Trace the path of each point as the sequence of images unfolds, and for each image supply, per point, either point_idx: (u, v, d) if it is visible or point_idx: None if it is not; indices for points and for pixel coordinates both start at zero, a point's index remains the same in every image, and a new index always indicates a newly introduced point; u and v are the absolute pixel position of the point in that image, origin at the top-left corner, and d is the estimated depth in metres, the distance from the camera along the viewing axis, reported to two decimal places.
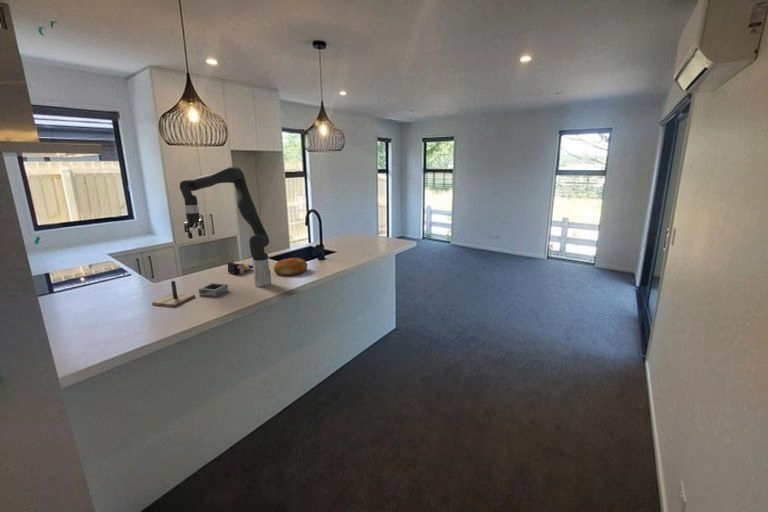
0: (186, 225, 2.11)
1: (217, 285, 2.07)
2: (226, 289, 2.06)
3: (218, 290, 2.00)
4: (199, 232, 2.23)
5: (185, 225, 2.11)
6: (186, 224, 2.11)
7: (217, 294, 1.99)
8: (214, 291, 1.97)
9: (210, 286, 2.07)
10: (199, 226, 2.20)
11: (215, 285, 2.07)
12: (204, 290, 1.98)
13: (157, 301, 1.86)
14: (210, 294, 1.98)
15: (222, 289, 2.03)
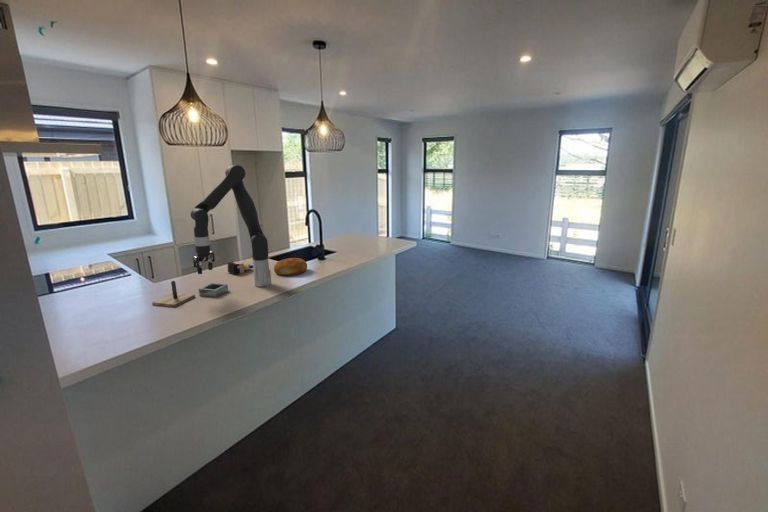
0: (195, 260, 1.87)
1: (217, 285, 2.07)
2: (226, 289, 2.06)
3: (218, 290, 2.00)
4: (209, 266, 1.99)
5: (194, 260, 1.87)
6: (195, 259, 1.87)
7: (217, 294, 1.99)
8: (214, 291, 1.97)
9: (210, 286, 2.07)
10: (210, 259, 1.96)
11: (215, 285, 2.07)
12: (204, 290, 1.98)
13: (157, 301, 1.86)
14: (210, 294, 1.98)
15: (222, 289, 2.03)
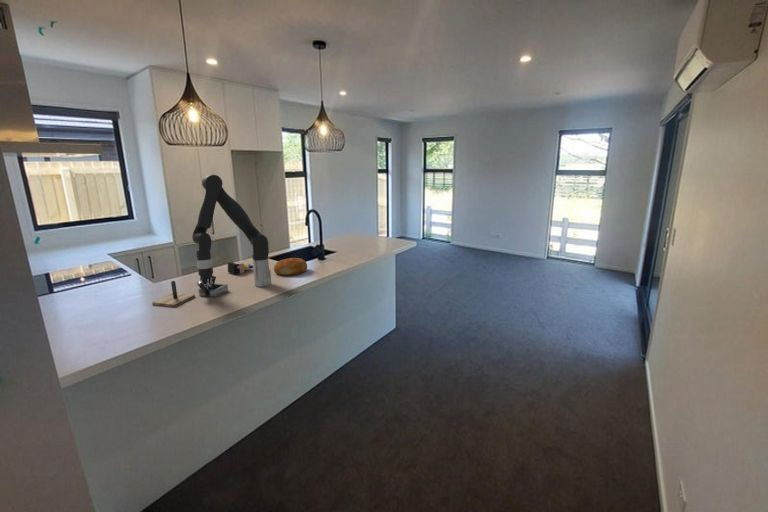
0: (200, 285, 1.92)
1: (217, 285, 2.07)
2: (225, 289, 2.06)
3: (218, 290, 1.99)
4: None
5: (199, 285, 1.92)
6: (200, 284, 1.92)
7: (217, 294, 1.99)
8: (214, 291, 1.97)
9: None
10: (210, 282, 1.98)
11: (215, 285, 2.07)
12: None
13: (157, 301, 1.86)
14: (210, 294, 1.98)
15: (222, 289, 2.03)
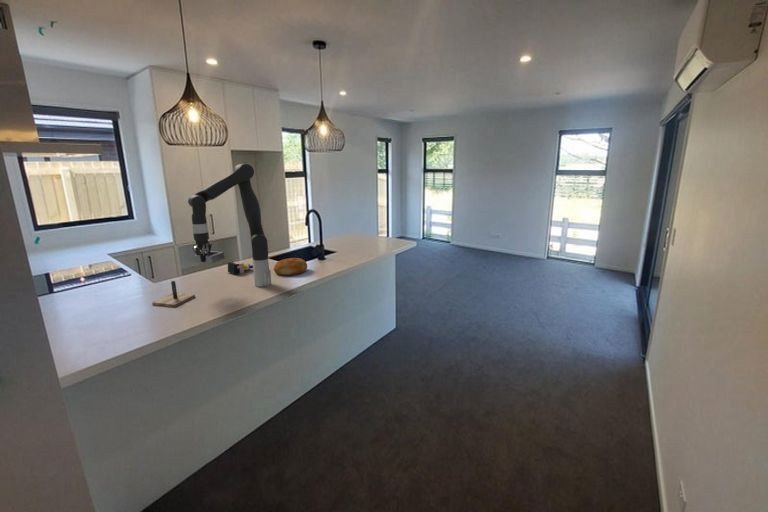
0: (196, 250, 1.87)
1: (213, 253, 2.02)
2: (222, 256, 2.01)
3: (214, 256, 1.94)
4: (204, 257, 1.94)
5: (195, 250, 1.87)
6: (195, 249, 1.86)
7: (213, 260, 1.94)
8: (210, 257, 1.92)
9: None
10: (206, 248, 1.93)
11: (211, 253, 2.02)
12: None
13: (157, 301, 1.86)
14: (206, 260, 1.93)
15: (219, 256, 1.98)
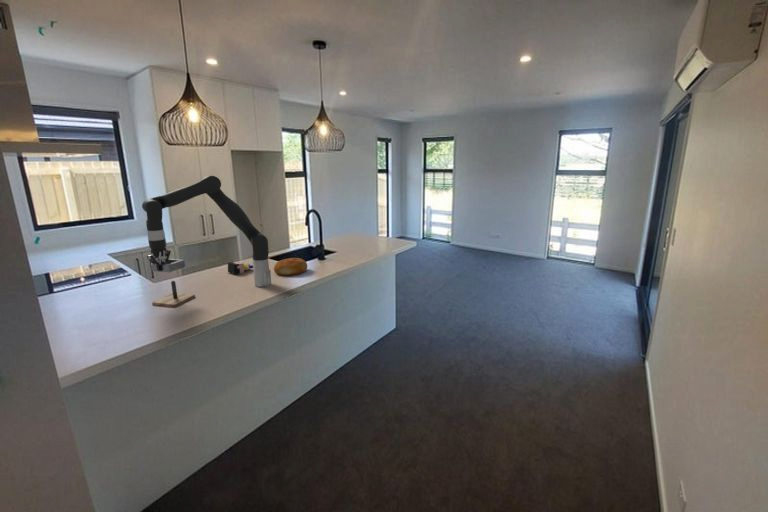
0: (151, 258, 1.74)
1: (173, 260, 1.89)
2: (182, 265, 1.88)
3: (172, 265, 1.82)
4: None
5: (150, 258, 1.74)
6: (150, 258, 1.74)
7: (171, 269, 1.81)
8: (167, 265, 1.79)
9: None
10: (163, 256, 1.80)
11: (171, 261, 1.89)
12: None
13: (157, 301, 1.86)
14: (163, 269, 1.80)
15: (178, 265, 1.85)
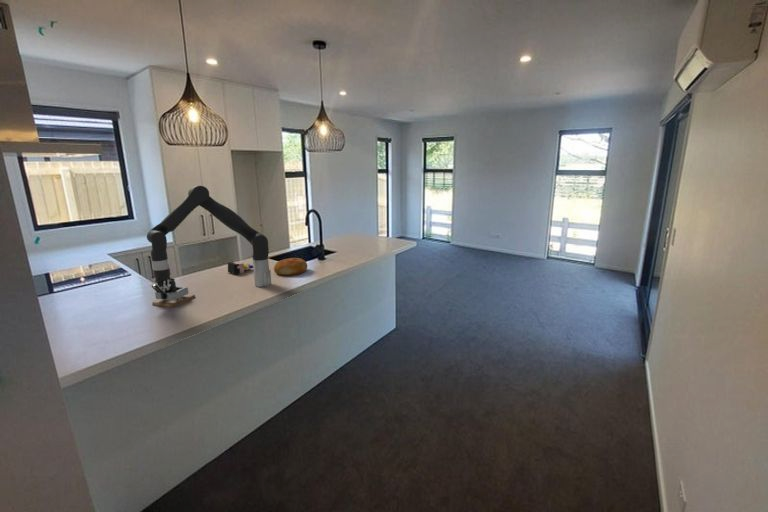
0: (155, 288, 1.78)
1: (176, 288, 1.93)
2: (185, 292, 1.92)
3: (176, 293, 1.85)
4: None
5: (154, 288, 1.78)
6: (155, 287, 1.78)
7: (175, 297, 1.85)
8: (171, 294, 1.83)
9: None
10: (168, 285, 1.84)
11: None
12: None
13: (157, 301, 1.86)
14: (167, 297, 1.84)
15: (181, 292, 1.89)
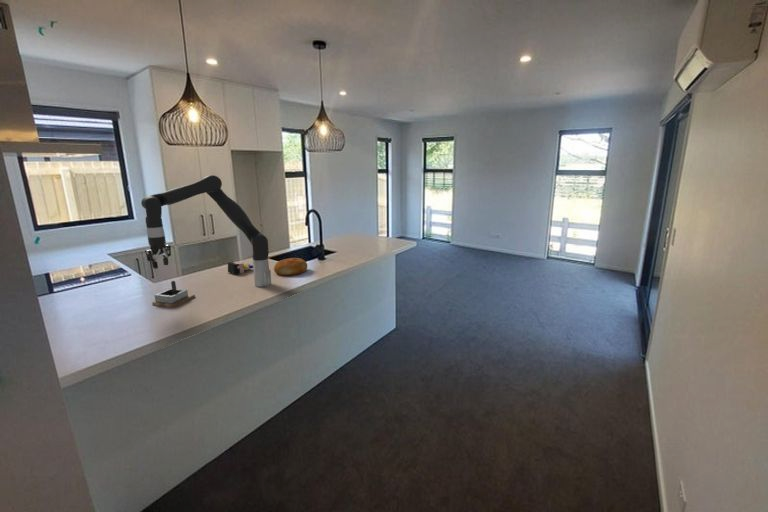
0: (148, 253, 1.72)
1: None
2: (185, 295, 1.92)
3: (175, 296, 1.85)
4: (164, 260, 1.83)
5: (147, 253, 1.73)
6: (148, 252, 1.72)
7: (174, 301, 1.85)
8: (170, 297, 1.83)
9: (168, 292, 1.92)
10: (165, 253, 1.81)
11: None
12: (160, 296, 1.84)
13: None
14: (167, 301, 1.84)
15: (181, 295, 1.89)
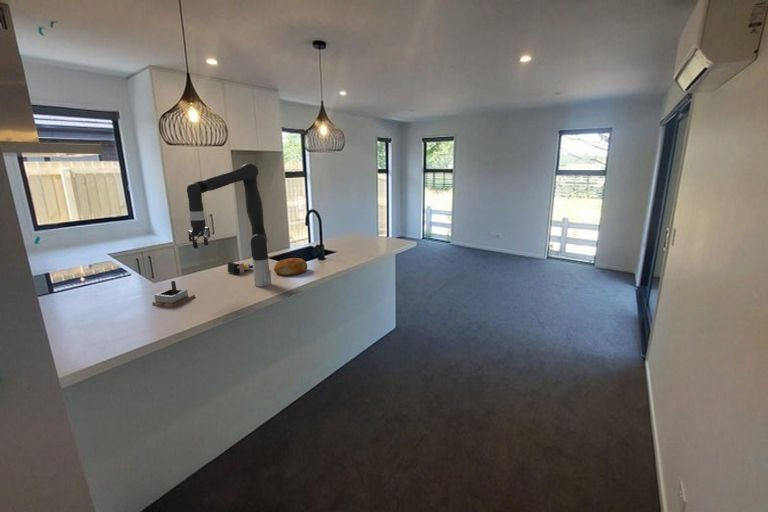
0: (191, 234, 1.89)
1: None
2: (185, 295, 1.92)
3: (175, 296, 1.85)
4: (205, 241, 2.01)
5: (190, 234, 1.89)
6: (191, 232, 1.89)
7: (174, 301, 1.85)
8: (170, 297, 1.83)
9: (168, 292, 1.92)
10: (205, 234, 1.98)
11: None
12: (160, 296, 1.84)
13: None
14: (167, 301, 1.84)
15: (181, 295, 1.89)
